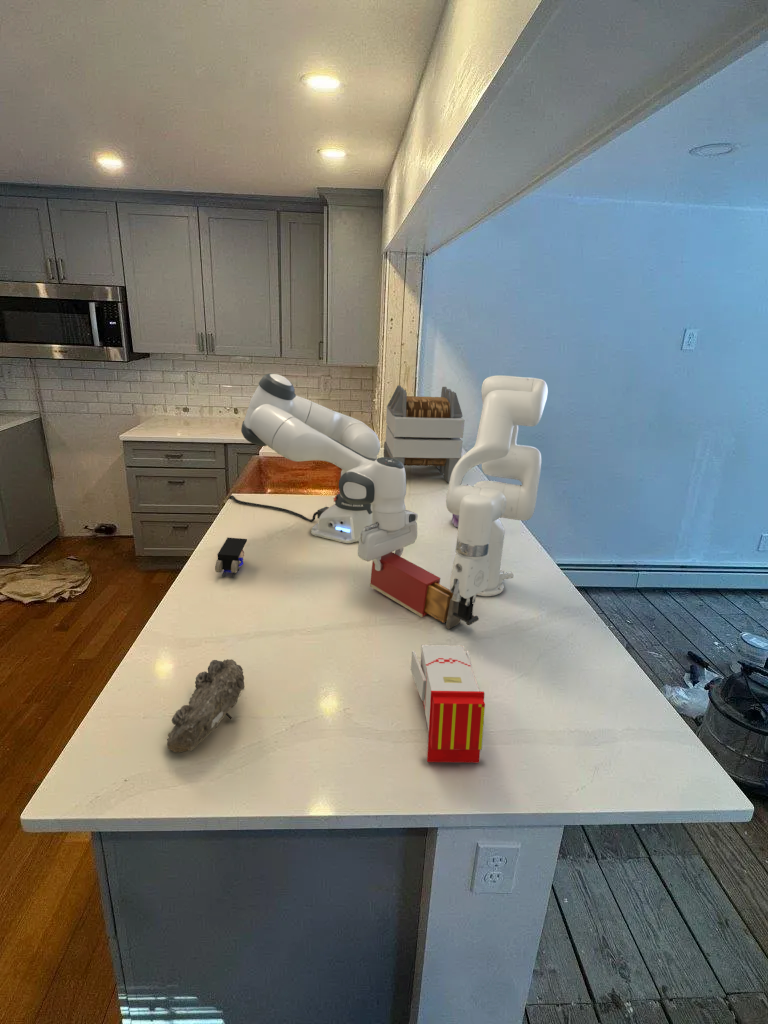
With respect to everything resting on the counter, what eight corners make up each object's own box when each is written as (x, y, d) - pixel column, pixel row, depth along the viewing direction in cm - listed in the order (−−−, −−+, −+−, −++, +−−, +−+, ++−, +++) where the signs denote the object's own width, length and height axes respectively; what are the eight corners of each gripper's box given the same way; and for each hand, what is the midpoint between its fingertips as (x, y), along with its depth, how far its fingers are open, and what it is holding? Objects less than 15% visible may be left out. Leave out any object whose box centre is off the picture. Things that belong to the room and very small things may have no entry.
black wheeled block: (238, 584, 162) (249, 557, 175) (236, 562, 158) (247, 536, 172) (215, 584, 161) (227, 556, 175) (212, 561, 158) (225, 535, 171)
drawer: (476, 633, 141) (482, 605, 138) (466, 639, 138) (471, 610, 135) (406, 592, 156) (410, 566, 152) (396, 597, 153) (399, 570, 150)
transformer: (382, 463, 289) (386, 382, 275) (445, 464, 293) (451, 384, 279) (390, 482, 257) (394, 392, 243) (460, 483, 261) (468, 394, 247)
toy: (464, 627, 124) (494, 699, 95) (461, 683, 127) (489, 770, 98) (409, 626, 124) (422, 698, 94) (407, 682, 127) (419, 769, 97)
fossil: (192, 660, 117) (244, 628, 112) (224, 691, 120) (276, 661, 115) (142, 746, 98) (202, 712, 93) (182, 779, 101) (242, 748, 96)
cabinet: (435, 610, 150) (440, 577, 146) (421, 617, 147) (426, 584, 143) (383, 580, 162) (387, 549, 158) (369, 586, 159) (373, 554, 155)
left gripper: (369, 531, 142) (369, 581, 146) (421, 512, 156) (419, 559, 161) (352, 525, 146) (352, 574, 151) (404, 507, 160) (403, 552, 165)
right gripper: (466, 560, 125) (459, 633, 131) (503, 544, 136) (494, 613, 141) (440, 550, 130) (433, 621, 136) (477, 536, 140) (469, 602, 146)
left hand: (387, 566), depth 156 cm, fingers closed on cabinet, 5 cm apart
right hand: (464, 617), depth 138 cm, fingers closed
